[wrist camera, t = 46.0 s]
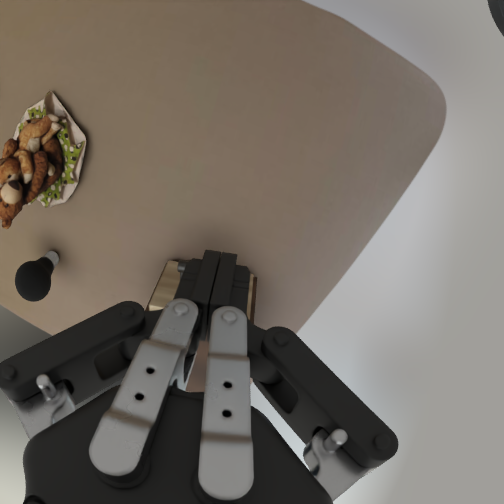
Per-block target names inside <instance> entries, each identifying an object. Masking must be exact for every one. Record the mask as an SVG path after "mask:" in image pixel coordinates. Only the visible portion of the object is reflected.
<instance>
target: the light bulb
mask: <svg viewBox="0 0 504 504" xmlns="http://www.w3.org/2000/svg"><path fill="white" fill-rule="evenodd" d="M58 262H59V257H58V255H57V253H55V252H54V251H48V252H47V253H46V254H45V256H43V257H41V258H40V259H38V260H36V261H28V262H26V263H24V264H22V265H21V266H20V267H19V269H18V270H17V273H16V277H15V285H16V288H17V291H18V293H19V294H20V295H21V296H22V297H23V298H24V299H26V300H28V301H39V300H41V299H43V298H44V297H45V296H46V295H47V294H48V292H49V290H50V287H51V274H52V272H53V270H54V267H55V266H56V265H57V263H58Z"/></svg>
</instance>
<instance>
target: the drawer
mask: <svg viewBox="0 0 504 504" xmlns="http://www.w3.org/2000/svg"><path fill="white" fill-rule="evenodd" d="M188 262H189V261H185V260H179V262H175V261H168V263H167V266H166V268H165V270H164V272H163V274H162V277H161V279H160V281H159V283H158V285H157V288H156V290H155V292H154V295H153V297H152V299H151V301H150V304H149V311H153V310H160V309H163V308H164V307H165V305H166V304H167V303H168V302H169V301H171V300H173V298H174V296H175V293H176V290H177V287H178V285H179V282H180V279H181V277H182V274H183V272H184V269H185V266H186V264H187V263H188ZM253 276H254V274H250V284H249V294H248V304H247V316H248V319H249V320H250V311H251V299H252V288H253Z"/></svg>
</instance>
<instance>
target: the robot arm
mask: <svg viewBox="0 0 504 504" xmlns="http://www.w3.org/2000/svg"><path fill="white" fill-rule="evenodd" d="M236 260H237V254H232V253H225V252H222V254H221V252H219V251H212V250H205V253H204V256H203V259H202V260H201V259H195V258H193V259H192V260H190V261H189V262H188V263H187V264H186V266H185V269H184V272H183V274H182V277H181V279H180V282H179V285H178V287H177V290H176V293H175V296H174V298H173V300H171V301H169V302H168V303H167V304H166V305H165V307H164V308H163V309H160V310H153V311H144V308H143V307H142V306H141V305H140V304H139V303H136V302H133V301H124V302H121V303H118V304H116V305H114V306H112V307H110V308H108V309H106V310H104V311H102V312H100V313H98V314H96V315H94V316H92V317H90V318H88V319H86V320H84V321H82V322H80V323H78V324H76V325H74V326H72V327H70V328H68V329H66V330H64V331H62V332H60V333H58V334H56V335H54V336H52V337H50V338H48V339H46V340H44V341H42V342H40V343H38V344H36V345H34V346H32V347H30V348H28V349H26V350H24V351H22V352H20V353H18V354H16V355H14V356H12V357H10V358H8V359H6V360H4V361H3V362H1V363H0V388H1V389H2V391H3V392H4V393H5V396H6V397H7V398H8V400H9V401H10V402H11V403H12V405H13V406H14V408H15V410H16V412H17V414H18V416H19V419H20V421H21V423H22V425H23V427H24V429H25V431H26V433H27V435H28V437H29V439H30V441H29V442H28V444H27V446H26V448H25V451H24V455H23V467H24V473H25V480H26V494H25V500H24V502H23V504H333V501H334V500H335V499H336V498H338V497H339V496H340V495H341V494H342V493H344V492H345V491H346V490H347V489H349V488H350V487H351V486H352V485H353V484H354V483H355V482H357V481H358V480H359V479H360V478H362V477H363V476H365V475H367V474H368V473H370V472H371V471H373V470H374V469H375V468H377V467H379V466H380V465H381V464H383V463H384V462H385V461H387V460H389V459H390V458H391V457H393V456H394V455H395V453H396V452H397V449H398V439H397V437H396V435H395V433H394V432H393V431H392V430H391V429H390V428H389V427H388V426H387V425H386V424H385V423H384V422H383V421H382V420H381V419H380V418H379V417H378V416H376V415H375V413H374V412H372V411H371V410H370V409H369V408H368V407H367V406H366V405H365V404H364V403H363V402H362V401H361V400H360V399H359V398H358V397H357V396H356V395H355V394H354V393H353V392H352V391H351V390H350V389H349V388H348V387H347V386H346V385H345V384H344V383H343V382H342V381H341V380H340V379H339V378H338V377H337V376H336V375H335V374H334V373H333V372H332V371H331V370H330V369H329V368H328V367H327V366H326V365H325V364H324V363H323V362H322V361H321V360H320V359H319V358H318V357H317V356H316V355H315V354H314V353H313V352H312V350H310V348H308V346H307V345H306V344H305V343H304V342H303V341H302V340H301V339H300V338H299V337H298V336H297V335H296V334H295V333H294V332H293V331H291V330H290V329H288V328H285V327H279V326H278V327H272V328H269V329H268V330H267V331H266V330H264V329H261V328H259V327H257V326H255V325H254V324H253V323H252V322H251V321H250V320H249V319H248V316H247V304H248V294H249V284H250V272H249V270H248V268H247V267H246V266H240V265H236ZM207 331H208V333H207ZM206 336H207V342H209V350H208V359H207V370H206V381H205V392H186V391H185V390H186V386H187V383H188V380H189V377H190V374H191V370H192V367H193V364H194V361H195V358H196V355H197V350H198V347H199V342H200V341H205V340H206ZM123 377H124V379H123V381H122V383H121V385H118V386H115V387H113V388H111V389H109V390H107V391H106V392H104V393H103V394H101V395H99V396H98V397H96V398H95V399H93V400H92V401H90V402H88V403H87V404H85V405H83V406H82V407H80V408H79V409H77V410H75V405H76V404H78V403H80V402H82V401H83V400H85V399H87V398H89V397H91V396H92V395H94V394H96V393H98V392H99V391H101V390H103V389H104V388H106V387H108V386H110V385H111V384H113V383H115V382H116V381H118V380H120V379H121V378H123ZM250 377H251V378H252V379H253V382H254V384H255V385H256V386H257V387H258V389H259V390H260V391H261V393H262V394H263V395H264V396H265V398H266V399H267V400H268V401H269V402H270V404H271V405H272V406H273V407H274V408H275V410H276V411H277V412H278V413H279V414H280V415H281V417H282V418H283V419H284V420H285V421H286V423H287V424H288V425H289V426H290V427H291V428H292V430H293V431H294V432H295V433H296V434H297V435H298V436H299V438H300V439H301V440H302V441H303V442H304V443H305V444H306V447H305V448H304V452H303V457H304V460H305V462H306V464H307V465H308V467H309V469H310V471H309V470H308V469H307V468H306V466H305V465H304V464H303V463H302V461H301V460H300V459H299V458H298V457H297V455H296V454H295V453H294V452H293V450H292V449H291V448H290V447H289V445H288V444H287V443H286V442H285V440H284V439H283V438H282V436H281V435H280V434H279V432H278V431H277V430H276V429H275V427H274V426H273V425H272V423H271V422H270V421H269V420H268V419H267V417H266V416H265V415H264V414H263V413H261V412H260V411H259V410H257V409H256V408H254V407H253V406H251V405H250Z"/></svg>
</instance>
